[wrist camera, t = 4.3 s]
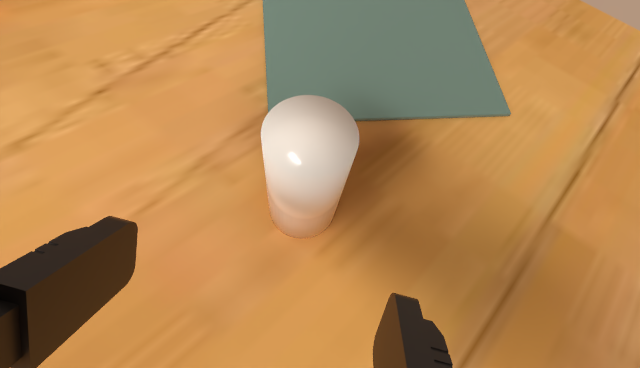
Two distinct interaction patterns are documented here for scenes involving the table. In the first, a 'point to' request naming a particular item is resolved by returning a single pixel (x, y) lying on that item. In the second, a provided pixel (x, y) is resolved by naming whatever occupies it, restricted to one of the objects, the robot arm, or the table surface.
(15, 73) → the table surface
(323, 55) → the felt mat
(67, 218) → the table surface
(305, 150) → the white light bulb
